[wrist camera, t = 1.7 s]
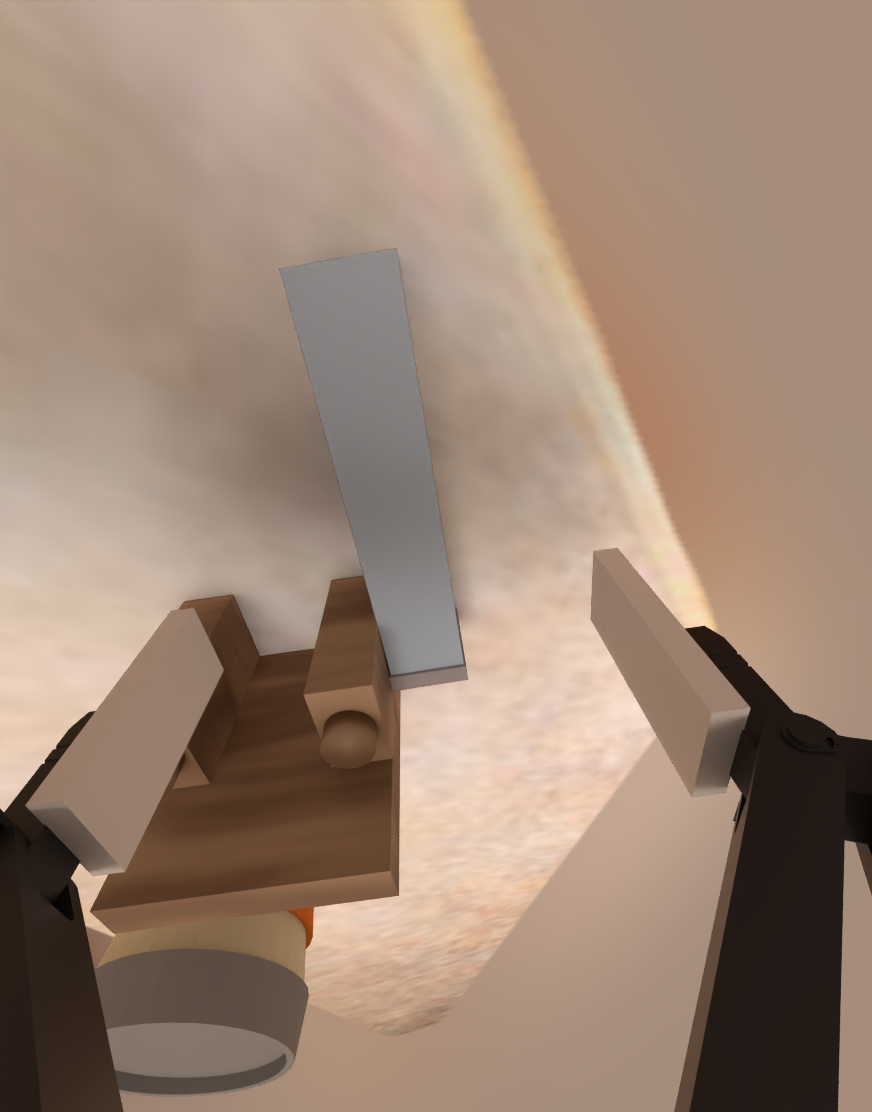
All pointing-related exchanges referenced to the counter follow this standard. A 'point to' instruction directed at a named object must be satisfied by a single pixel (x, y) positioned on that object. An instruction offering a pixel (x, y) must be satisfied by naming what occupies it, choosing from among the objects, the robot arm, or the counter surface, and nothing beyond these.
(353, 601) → the wooden bracket with knobs
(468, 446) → the counter surface
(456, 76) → the counter surface
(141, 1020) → the reusable coffee cup
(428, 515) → the rail
